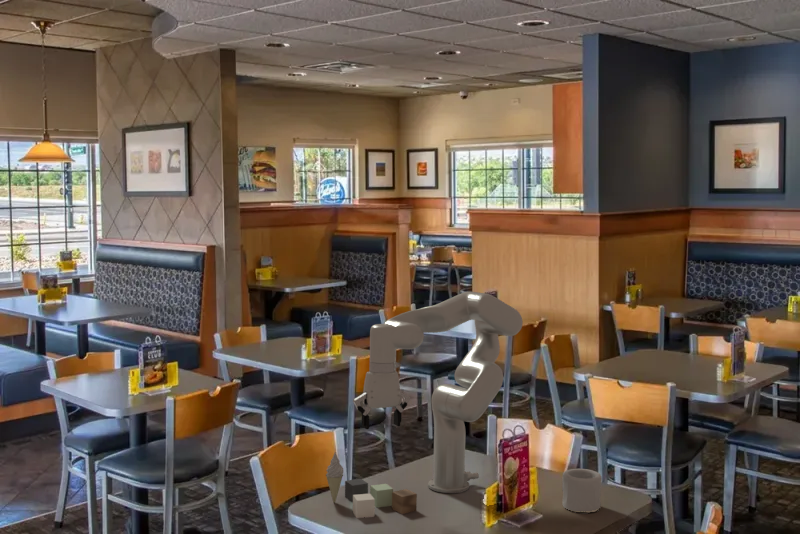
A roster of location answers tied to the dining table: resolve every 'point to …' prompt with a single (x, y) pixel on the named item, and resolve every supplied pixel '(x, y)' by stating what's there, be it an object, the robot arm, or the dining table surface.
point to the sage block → (381, 495)
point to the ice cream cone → (334, 476)
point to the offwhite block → (363, 505)
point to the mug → (581, 490)
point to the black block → (355, 488)
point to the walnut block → (404, 501)
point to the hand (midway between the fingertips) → (381, 426)
